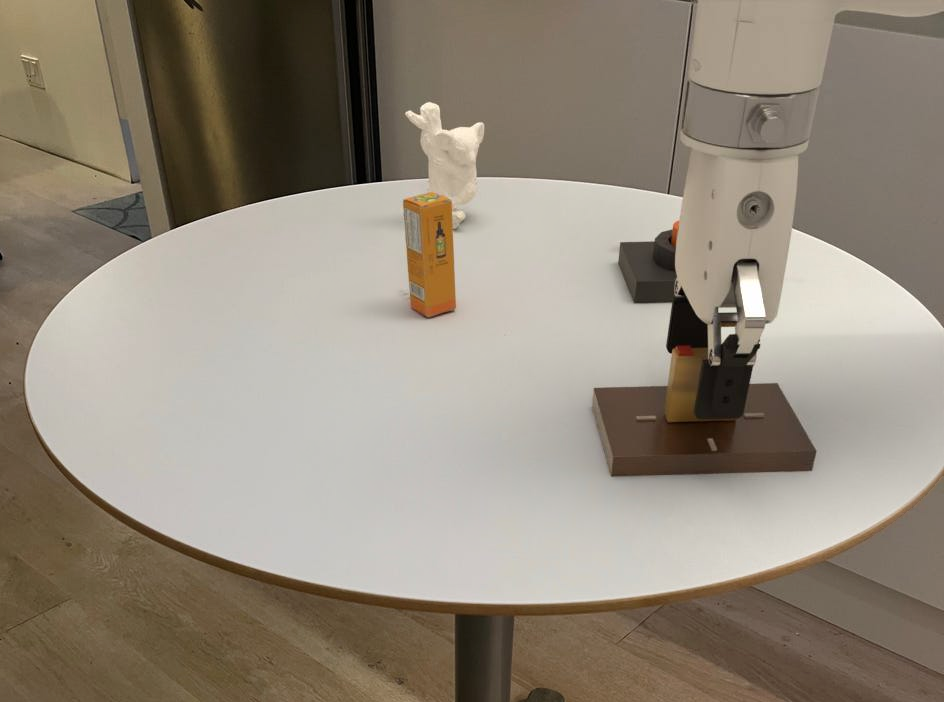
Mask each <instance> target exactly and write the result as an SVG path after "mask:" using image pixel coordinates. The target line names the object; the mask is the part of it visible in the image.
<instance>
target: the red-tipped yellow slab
mask: <svg viewBox="0 0 944 702" xmlns="http://www.w3.org/2000/svg"><path fill="white" fill-rule="evenodd" d="M702 359H708V348H691V346H676V349H673V350H672V354H671V358H670V366H669V372H668V378H667V379H668V381H667V386H668V387H667V394H666V401H665V409H664V414H665V417H666V419H667V422H697V421H735V420H737V419H698V418H696V416H695V414H694V406H695V400H696V394H697V389H698V383H699V377H700V371H701V365H702Z"/></svg>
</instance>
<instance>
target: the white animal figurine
mask: <svg viewBox="0 0 944 702" xmlns="http://www.w3.org/2000/svg"><path fill="white" fill-rule="evenodd" d="M440 108H441V107H440V106H439V105H438V104H437V103H435V102H431V101H428V102H426V103H424V104H422V105H421V106H420V108H419V111H420V114H417V113H415V112H413V110H410V109H409V110H408V111H405V113H404V115H405V117H406V118H407V119H408V120H409V122H411V123H412V124H413V125H414V126H416V127H417V128H418V129H420V130H421V133H420V142H419V143H420V147H421V149H422V152H424V154H425V155H426V156H427V160H428V165H427V169H428V176H427V177H428V180H427V182H428V189H427V191H426V193H429V192H433V193H436V194H439V195H442V196H444V197H446V198H449V199H451V200H452V222H453V230H456V229H458V228H459V227H460V225H461V223H462V222H463V221H465V219H466V218H467V212H466V211H465V210H463V209H459V208H458V207H460V206H464V205H467V204H468V203H470V202H472V200H474V199H475V198H476V195H477V191H478V190H477V189H478V188H477V177H478V176H477V175H478V172H477V171H478V170H477V165H476V163H477V156H478V153H479V148H480V144H481V143H482V142H483V140H484V136H485V124H484V122H482V121H481V122H479V121H478V122H476V123H475V124H473V125H472V126H469V127H468V126H466V127H465V126H458V127H456V128H452V129H450V130H449V129H448V130H447V129H443V128H442V120H441V109H440Z"/></svg>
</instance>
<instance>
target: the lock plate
mask: <svg viewBox="0 0 944 702" xmlns="http://www.w3.org/2000/svg"><path fill="white" fill-rule="evenodd" d="M667 387H668V385H651V386H650V385H647V386H646V385H645V386H643V385H642V386H608V387H607V386H606V387H605V386H604V387H593V391H592V392H593V393H592V404H591V408H592V412H593V415H594V418H595V422H596V426H597V430H598V433H599V437H600V441H601V445H602V448H603V451H604V455H605V459H606V463H607V466H608V470H609V474H610V477H612V478H613V477H642V476H643V477H644V476H645V477H646V476H678V475H679V476H680V475H682V476H683V475H713V474H714V475H715V474H716V475H719V474H752V473H755V474H756V473H788V472H789V473H793V472H812V471H813V467H814V464H815V460H816V456H817V451H818V450H817V449H816V448H815V446H814V444H813V442H812V440H811V439H810V436H809V435H808V433H807V432H806V430H805V428H804V426H803V425H802V423H801V421H800V420H799V417H798V416H797V414H796V413H795V411H794V408H793V407H792V405H791V404H790V402H789V400H788V399H787V397H786V395H785V393H784V392H783V390H782V388H781V387H780V385H779V383H778V382H765V383H764V382H763V383H750V384H749V389H748V394H747V399H746V404H745V409H744V413H743V415H742V417H740V418H738V419H737V420H735V421H697V422H667V419H666V417H665V414H664V409H665V401H666V394H667Z"/></svg>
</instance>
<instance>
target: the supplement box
mask: <svg viewBox="0 0 944 702" xmlns="http://www.w3.org/2000/svg"><path fill="white" fill-rule="evenodd" d="M402 206H403V220H404V222H403V223H404V236H405V249H406V264H407V275H408V287H409V299H410V300H409V301H410V302H409V303H410V307H411V309H412V310H414V311H416V312H417V313H419V314H421V315H422V316H424V317H426V318H432V317H435V316H437V315H441V314H443V313H447V312H452V311H455V310H456V308H457V301H456V299H457V298H456V297H457V296H456V274H455V251H454V249H455V247H454V229H453V222H452V200H451V199H449V198H446V197H444V196H442V195H439V194H436V193H433V192H429V193H427V192H425V193H422V194H418V195H413V196H411V197H406V198H403V200H402Z"/></svg>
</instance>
